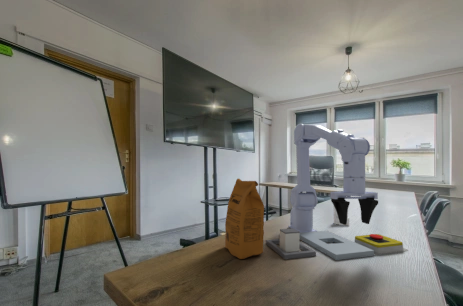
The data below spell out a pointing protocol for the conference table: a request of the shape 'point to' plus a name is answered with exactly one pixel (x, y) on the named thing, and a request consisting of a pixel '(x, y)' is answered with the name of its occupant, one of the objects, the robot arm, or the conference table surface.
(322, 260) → the conference table surface
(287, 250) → the grey block
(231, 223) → the coffee package
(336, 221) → the white angled block
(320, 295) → the conference table surface
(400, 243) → the emergency button
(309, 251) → the grey square frame
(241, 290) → the conference table surface
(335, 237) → the port plate
